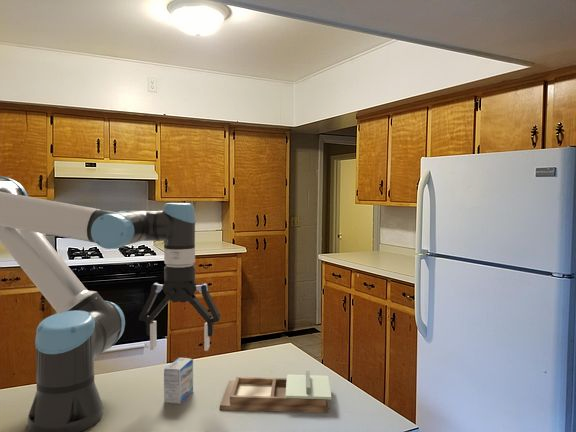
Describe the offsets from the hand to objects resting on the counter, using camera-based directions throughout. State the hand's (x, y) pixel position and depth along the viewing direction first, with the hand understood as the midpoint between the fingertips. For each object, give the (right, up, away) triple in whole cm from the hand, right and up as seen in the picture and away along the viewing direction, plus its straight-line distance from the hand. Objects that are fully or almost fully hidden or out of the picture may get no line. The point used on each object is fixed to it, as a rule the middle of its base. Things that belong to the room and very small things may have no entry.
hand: (180, 348), depth 112 cm
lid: (+32, -10, +1) cm, 34 cm away
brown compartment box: (+24, -13, +1) cm, 27 cm away
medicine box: (0, -13, +1) cm, 13 cm away
